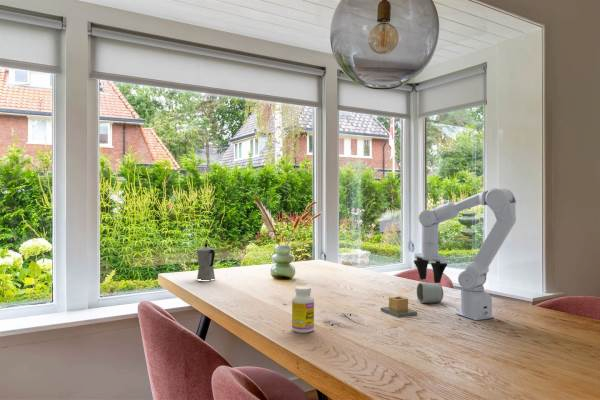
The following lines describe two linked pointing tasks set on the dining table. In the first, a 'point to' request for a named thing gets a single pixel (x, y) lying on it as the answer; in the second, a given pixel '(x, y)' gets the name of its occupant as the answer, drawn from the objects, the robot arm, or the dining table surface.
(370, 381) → the dining table surface
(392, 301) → the wooden block with hole
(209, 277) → the coffeepot
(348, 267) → the dining table surface
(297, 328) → the supplement bottle
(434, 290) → the ceramic mug
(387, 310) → the flat gray rectangular block
